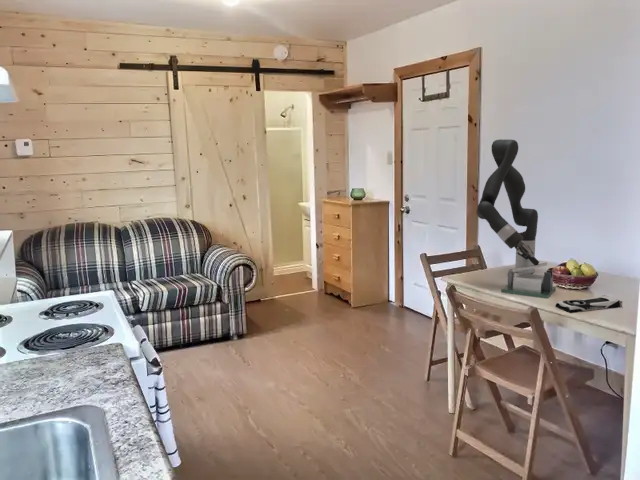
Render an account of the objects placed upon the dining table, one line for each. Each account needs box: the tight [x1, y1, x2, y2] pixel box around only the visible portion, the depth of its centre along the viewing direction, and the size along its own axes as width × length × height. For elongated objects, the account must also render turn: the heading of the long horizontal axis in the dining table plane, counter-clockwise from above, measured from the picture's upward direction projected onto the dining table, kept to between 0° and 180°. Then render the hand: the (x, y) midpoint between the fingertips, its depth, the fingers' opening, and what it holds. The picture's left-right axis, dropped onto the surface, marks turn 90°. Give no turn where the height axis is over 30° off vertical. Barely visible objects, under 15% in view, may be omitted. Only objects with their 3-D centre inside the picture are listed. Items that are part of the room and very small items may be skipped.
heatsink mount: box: [500, 269, 556, 299], centre depth 246 cm, size 20×16×10 cm
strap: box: [508, 262, 548, 273], centre depth 245 cm, size 17×3×2 cm, turn 55°
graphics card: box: [555, 295, 623, 314], centre depth 222 cm, size 10×3×25 cm
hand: (537, 264), depth 243 cm, fingers closed
